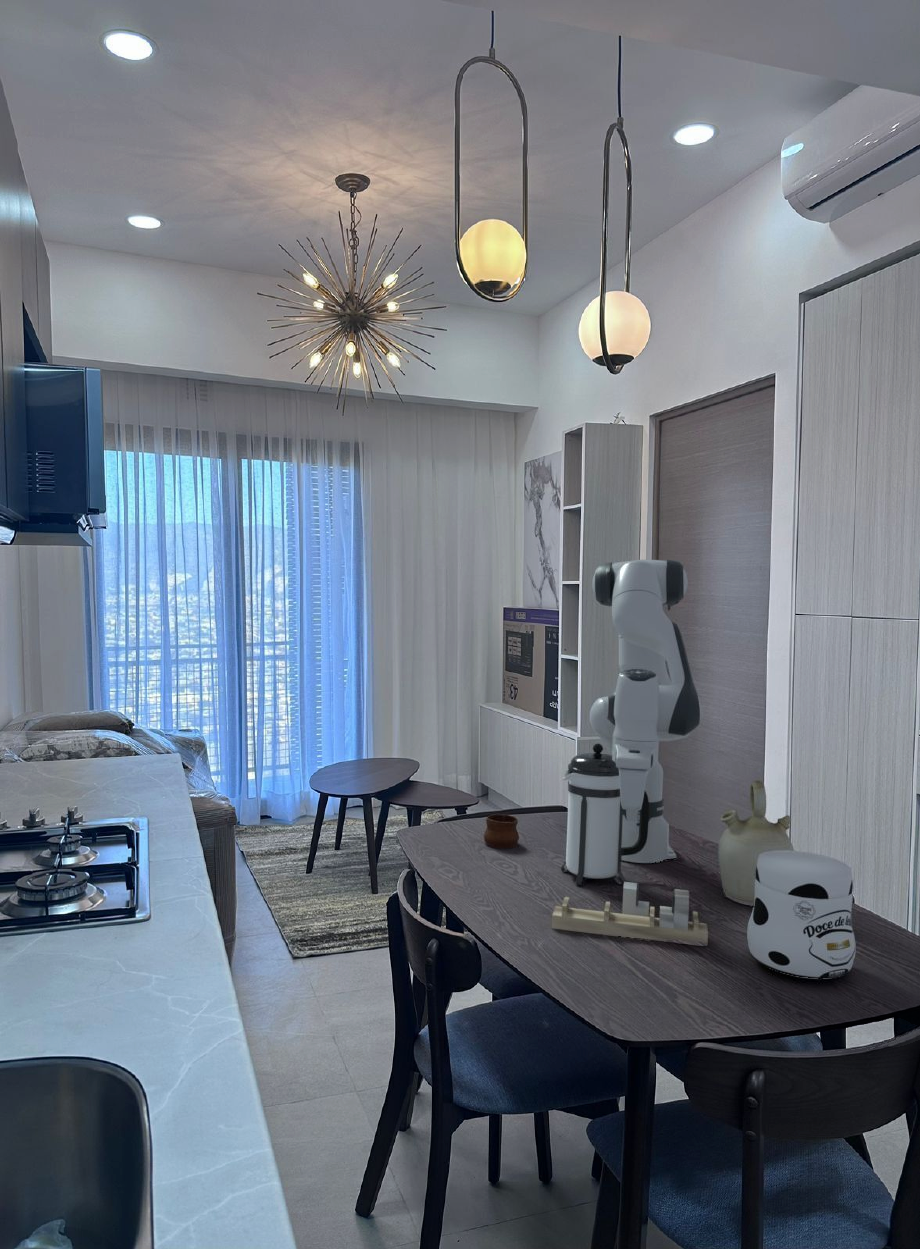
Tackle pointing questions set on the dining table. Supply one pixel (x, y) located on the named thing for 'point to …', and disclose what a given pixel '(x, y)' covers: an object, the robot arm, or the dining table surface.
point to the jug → (749, 844)
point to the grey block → (633, 901)
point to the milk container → (802, 915)
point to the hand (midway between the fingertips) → (632, 823)
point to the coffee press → (597, 818)
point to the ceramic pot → (501, 831)
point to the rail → (635, 921)
